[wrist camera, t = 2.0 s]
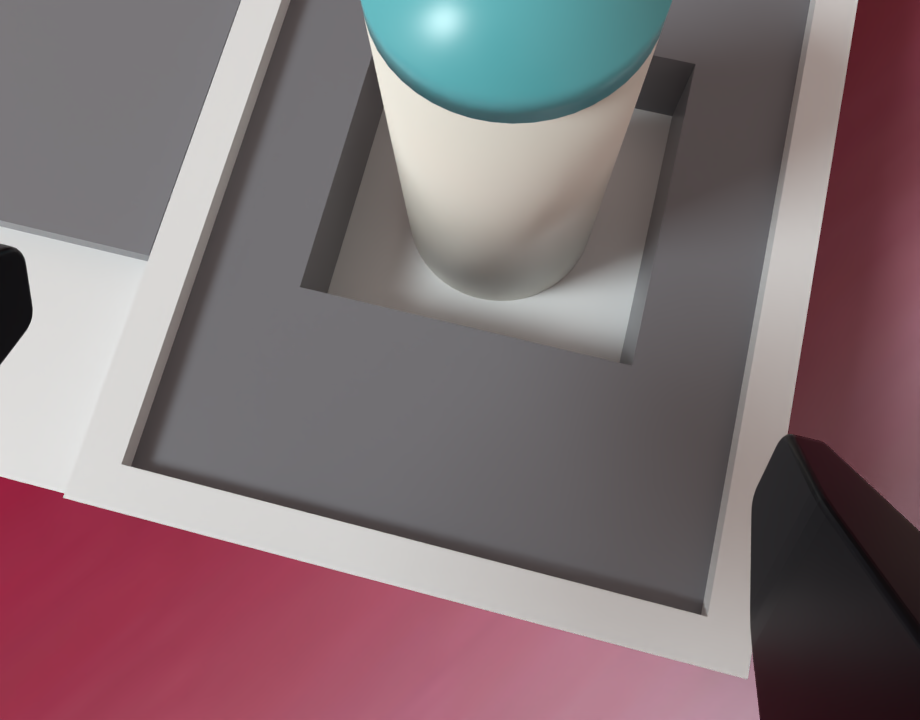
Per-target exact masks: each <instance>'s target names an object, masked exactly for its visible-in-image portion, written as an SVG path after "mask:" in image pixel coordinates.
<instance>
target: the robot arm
mask: <svg viewBox="0 0 920 720" xmlns="http://www.w3.org/2000/svg"><path fill="white" fill-rule="evenodd" d="M32 314H33V306H32V299H31V293H30V286H29V280H28V273H27V267H26V261H25V258H24V256H23V254H22V253H21V252H20V251H19V250H18V249H17V248H15V247H12V246H8V245H4V244H0V365H1V364H2V362H3V361H4V360H5V358H6V357H7V356H8V354H9V353H10V352H11V350H12V349H13V348H14V346H15V345H16V344H17V342H18V341H19V340H20V339H21V337H22V336H23V335H24V333H25V332H26V331H27V329H28V327H29V325H30V323H31V319H32ZM750 631H751V643H752V653H753V662H754V671H755V680H756V688H757V697H758V706H759V715H760V720H920V531H919V530H918V529H917V528H916V527H914V526H913V525H912V524H911V523H910V522H909V521H908V520H907V519H906V518H905V517H904V516H903V515H902V514H901V513H899V512H898V511H897V510H896V509H895V508H894V507H893V506H892V505H891V504H890V503H889V502H888V501H887V500H886V499H884V498H883V497H882V496H881V495H880V494H879V493H878V492H877V491H876V490H875V489H874V488H873V487H872V486H870V485H869V484H868V483H867V482H866V481H865V480H864V479H863V478H862V477H861V476H860V475H859V474H858V473H857V472H855V471H854V470H853V469H852V468H851V467H850V466H849V465H848V464H847V463H846V462H845V461H844V460H843V459H842V458H840V457H839V456H838V455H837V454H836V453H835V452H834V451H833V450H832V449H831V448H830V447H829V446H828V445H826V444H825V443H824V442H821V441H819V440H814V439H810V438H806V437H802V436H798V435H793V434H788V435H785V436H784V437H782V438H781V440H780V441H779V442H778V444H777V446H776V448H775V450H774V452H773V454H772V456H771V458H770V460H769V462H768V464H767V466H766V469H765V471H764V473H763V475H762V477H761V479H760V481H759V483H758V485H757V487H756V490H755V493H754V496H753V501H752V508H751V569H750Z"/></svg>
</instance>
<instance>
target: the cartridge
mask: <svg viewBox="0 0 920 720" xmlns="http://www.w3.org/2000/svg"><path fill="white" fill-rule="evenodd" d="M360 1H361V5H362V10H363V14H364V19H365V23H366V28H367V32H368V37H369V42H370V46H371V51H372V55H373V60H374V64H375V69H376V73H377V78H378V82H379V87H380V92H381V96H382V101H383V105H384V110H385V114H386V119H387V123H388V128H389V133H390V137H391V142H392V146H393V151H394V155H395V160H396V164H397V169H398V173H399V178H400V183H401V187H402V192H403V196H404V201H405V205H406V210H407V214H408V219H409V223H410V228H411V233H412V236H413V240H414V243H415V246H416V248H417V250H418V252H419V254H420V256H421V258H422V259H423V261H424V262H425V264H426V265H427V266H428V267H429V269H430V270H431V271H432V272H433V273H434V274H435V275H436V276H437V277H438V278H439V279H441V280H442V281H443V282H444V283H446V284H447V285H449V286H450V287H452V288H453V289H455V290H457V291H459V292H461V293H463V294H466V295H469V296H472V297H475V298H480V299H484V300H493V301H511V300H517V299H523V298H526V297H530V296H533V295H536V294H538V293H540V292H543V291H545V290H547V289H548V288H550V287H552V286H553V285H555V284H556V283H558V282H559V281H560V280H561V279H563V278H564V277H565V276H566V275H567V274H568V273H569V272H570V271H571V270H572V269H573V268H574V266H575V265H576V263H577V262H578V261H579V259H580V257H581V256H582V254H583V252H584V250H585V248H586V245H587V242H588V239H589V237H590V234H591V231H592V228H593V225H594V222H595V219H596V217H597V214H598V211H599V208H600V205H601V202H602V199H603V197H604V194H605V191H606V188H607V185H608V182H609V179H610V177H611V174H612V171H613V168H614V165H615V162H616V159H617V157H618V154H619V151H620V148H621V145H622V142H623V140H624V137H625V134H626V131H627V128H628V125H629V122H630V120H631V117H632V114H633V111H634V108H635V105H636V102H637V100H638V97H639V94H640V91H641V88H642V85H643V82H644V80H645V77H646V74H647V71H648V68H649V65H650V62H651V60H652V57H653V54H654V51H655V48H656V45H657V42H658V40H659V37H660V34H661V31H662V28H663V25H664V23H665V20H666V17H667V14H668V11H669V8H670V5H671V3H672V0H360Z"/></svg>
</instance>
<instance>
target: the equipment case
mask: <svg viewBox="0 0 920 720" xmlns="http://www.w3.org/2000/svg"><path fill="white" fill-rule="evenodd" d="M857 4H858V0H672V3H671V5H670V8H669V11H668V14H667V17H666V20H665V23H664V25H663V28H662V31H661V34H660V37H659V40H658V42H657V45H656V48H655V51H654V54H653V57H652V60H651V62H650V65H649V68H648V71H647V74H646V77H645V80H644V82H643V85H642V88H641V91H640V94H639V97H638V100H637V102H636V105H635V108H634V111H633V114H632V117H631V120H630V122H629V125H628V128H627V131H626V134H625V137H624V140H623V142H622V145H621V148H620V151H619V154H618V157H617V159H616V162H615V165H614V168H613V171H612V174H611V177H610V179H609V182H608V185H607V188H606V191H605V194H604V197H603V199H602V202H601V205H600V208H599V211H598V214H597V217H596V219H595V222H594V225H593V228H592V231H591V234H590V237H589V239H588V242H587V245H586V248H585V250H584V252H583V254H582V256H581V257H580V259H579V261H578V262H577V263H576V265H575V266H574V268H573V269H572V270H571V271H570V272H569V273H568V274H567V275H566V276H565V277H564V278H563V279H561V280H560V281H559V282H558V283H556V284H555V285H553V286H552V287H550V288H548V289H547V290H545V291H543V292H540V293H538V294H536V295H533V296H530V297H526V298H523V299H517V300H511V301H493V300H484V299H480V298H475V297H472V296H469V295H466V294H463V293H461V292H459V291H457V290H455V289H453V288H452V287H450V286H449V285H447V284H446V283H444V282H443V281H442V280H441V279H439V278H438V277H437V276H436V275H435V274H434V273H433V272H432V271H431V270H430V269H429V267H428V266H427V265H426V264H425V262H424V261H423V259H422V258H421V256H420V254H419V252H418V250H417V248H416V246H415V243H414V240H413V236H412V233H411V228H410V223H409V219H408V214H407V210H406V205H405V201H404V196H403V192H402V187H401V183H400V178H399V173H398V169H397V164H396V160H395V155H394V151H393V146H392V142H391V137H390V133H389V128H388V123H387V119H386V114H385V110H384V105H383V101H382V96H381V92H380V87H379V82H378V78H377V73H376V69H375V64H374V60H373V55H372V51H371V46H370V42H369V37H368V32H367V28H366V23H365V19H364V14H363V10H362V5H361V1H360V0H0V244H4V245H8V246H12V247H15V248H17V249H18V250H19V251H20V252H21V253H22V254H23V256H24V258H25V261H26V267H27V273H28V280H29V286H30V293H31V299H32V306H33V314H32V319H31V323H30V325H29V327H28V329H27V331H26V332H25V333H24V335H23V336H22V337H21V339H20V340H19V341H18V342H17V344H16V345H15V346H14V348H13V349H12V350H11V352H10V353H9V354H8V356H7V357H6V358H5V360H4V361H3V362H2V364H1V365H0V476H1V477H5V478H9V479H12V480H16V481H20V482H24V483H27V484H31V485H35V486H39V487H43V488H46V489H50V490H54V491H58V492H61V493H65V494H64V496H63V498H66V499H70V500H74V501H77V502H81V503H85V504H89V505H93V506H96V507H100V508H104V509H108V510H111V511H115V512H119V513H123V514H126V515H130V516H134V517H138V518H141V519H145V520H149V521H153V522H157V523H160V524H164V525H168V526H172V527H175V528H179V529H183V530H187V531H190V532H194V533H198V534H202V535H205V536H209V537H213V538H217V539H221V540H224V541H228V542H232V543H236V544H239V545H243V546H247V547H251V548H254V549H258V550H262V551H266V552H269V553H273V554H277V555H281V556H285V557H288V558H292V559H296V560H300V561H303V562H307V563H311V564H315V565H318V566H322V567H326V568H330V569H334V570H337V571H341V572H345V573H349V574H352V575H356V576H360V577H364V578H367V579H371V580H375V581H379V582H382V583H386V584H390V585H394V586H398V587H401V588H405V589H409V590H413V591H416V592H420V593H424V594H428V595H431V596H435V597H439V598H443V599H446V600H450V601H454V602H458V603H462V604H465V605H469V606H473V607H477V608H480V609H484V610H488V611H492V612H495V613H499V614H503V615H507V616H510V617H514V618H518V619H522V620H526V621H529V622H533V623H537V624H541V625H544V626H548V627H552V628H556V629H559V630H563V631H567V632H571V633H574V634H578V635H582V636H586V637H590V638H593V639H597V640H601V641H605V642H608V643H612V644H616V645H620V646H623V647H627V648H631V649H635V650H639V651H642V652H646V653H650V654H654V655H657V656H661V657H665V658H669V659H672V660H676V661H680V662H684V663H687V664H691V665H695V666H699V667H703V668H706V669H710V670H714V671H718V672H721V673H725V674H729V675H733V676H736V677H740V678H744V679H748V674H749V668H750V662H751V655H752V643H751V631H750V569H751V508H752V501H753V496H754V493H755V490H756V487H757V485H758V483H759V481H760V479H761V477H762V475H763V473H764V471H765V469H766V466H767V464H768V462H769V460H770V458H771V456H772V454H773V452H774V450H775V448H776V446H777V444H778V442H779V441H780V440H781V438H782V437H784V436H785V435H787V434H788V428H789V422H790V416H791V409H792V403H793V397H794V391H795V385H796V379H797V373H798V366H799V360H800V354H801V348H802V342H803V336H804V329H805V323H806V317H807V311H808V305H809V299H810V293H811V286H812V280H813V274H814V268H815V262H816V256H817V250H818V243H819V237H820V231H821V225H822V219H823V213H824V207H825V200H826V194H827V188H828V182H829V176H830V170H831V163H832V157H833V151H834V145H835V139H836V133H837V127H838V120H839V114H840V108H841V102H842V96H843V90H844V84H845V77H846V71H847V65H848V59H849V53H850V47H851V41H852V34H853V28H854V22H855V16H856V10H857Z"/></svg>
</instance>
